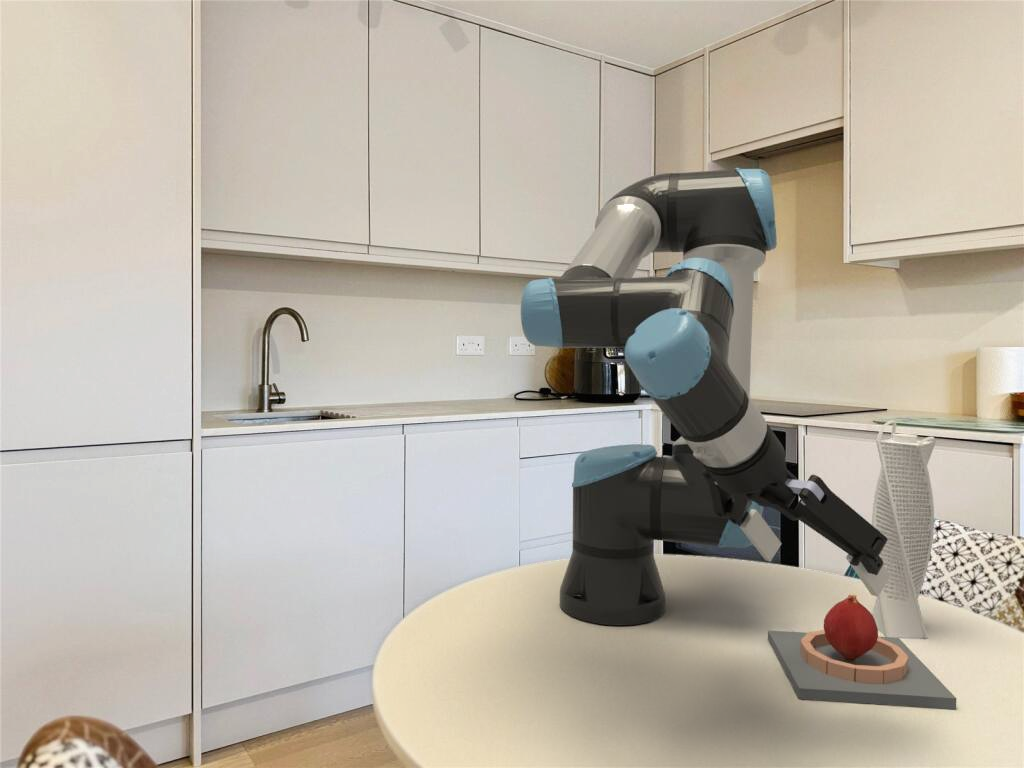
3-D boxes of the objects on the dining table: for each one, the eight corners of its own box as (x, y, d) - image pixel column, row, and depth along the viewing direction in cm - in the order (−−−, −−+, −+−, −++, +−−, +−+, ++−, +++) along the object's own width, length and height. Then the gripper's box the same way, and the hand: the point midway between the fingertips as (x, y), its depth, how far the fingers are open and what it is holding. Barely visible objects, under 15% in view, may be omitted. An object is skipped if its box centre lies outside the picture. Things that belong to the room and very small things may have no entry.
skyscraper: (856, 617, 105) (864, 418, 103) (910, 618, 105) (919, 419, 103) (881, 640, 97) (891, 426, 95) (940, 642, 97) (950, 426, 95)
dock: (798, 698, 81) (799, 674, 81) (767, 639, 97) (768, 619, 97) (955, 709, 79) (957, 684, 79) (898, 646, 95) (898, 626, 95)
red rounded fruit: (814, 649, 91) (816, 585, 91) (860, 648, 92) (862, 584, 91) (837, 671, 85) (839, 603, 85) (886, 670, 86) (889, 602, 85)
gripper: (630, 453, 84) (720, 564, 93) (825, 495, 63) (918, 634, 72) (666, 404, 86) (751, 516, 95) (866, 429, 65) (951, 571, 74)
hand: (823, 567), depth 84 cm, fingers open, 13 cm apart
